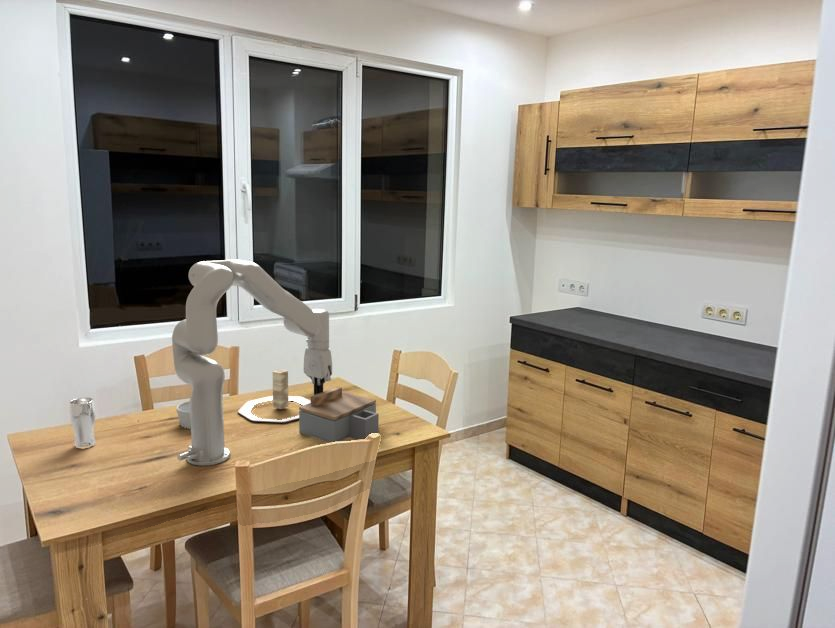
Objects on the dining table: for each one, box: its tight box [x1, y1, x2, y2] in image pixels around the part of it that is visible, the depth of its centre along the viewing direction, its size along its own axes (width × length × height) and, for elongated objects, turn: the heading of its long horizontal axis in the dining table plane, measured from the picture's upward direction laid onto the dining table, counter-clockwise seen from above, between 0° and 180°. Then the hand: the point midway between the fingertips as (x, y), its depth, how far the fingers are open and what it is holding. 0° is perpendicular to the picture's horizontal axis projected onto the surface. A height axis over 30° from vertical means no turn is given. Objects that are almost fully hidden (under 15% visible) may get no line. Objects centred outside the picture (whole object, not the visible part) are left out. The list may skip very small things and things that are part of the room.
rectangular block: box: [272, 368, 289, 410], centre depth 229 cm, size 4×4×14 cm
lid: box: [298, 386, 377, 421], centre depth 211 cm, size 22×16×4 cm
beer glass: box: [69, 396, 97, 447], centre depth 192 cm, size 7×7×15 cm
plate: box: [237, 395, 311, 424], centre depth 229 cm, size 28×28×2 cm
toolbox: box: [298, 402, 380, 443], centre depth 210 cm, size 22×23×8 cm
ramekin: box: [176, 400, 191, 430], centre depth 213 cm, size 13×13×7 cm
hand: (318, 394), depth 216 cm, fingers closed
